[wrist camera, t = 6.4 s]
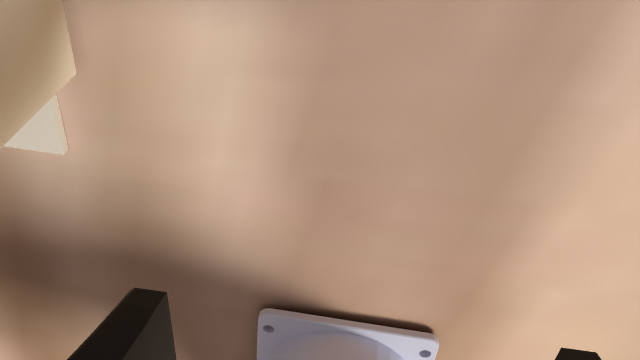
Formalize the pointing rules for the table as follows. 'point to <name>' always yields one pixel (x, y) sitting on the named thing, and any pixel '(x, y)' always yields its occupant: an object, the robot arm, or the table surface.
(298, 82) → the table surface
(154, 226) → the table surface
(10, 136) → the walnut block
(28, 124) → the mat
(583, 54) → the table surface
